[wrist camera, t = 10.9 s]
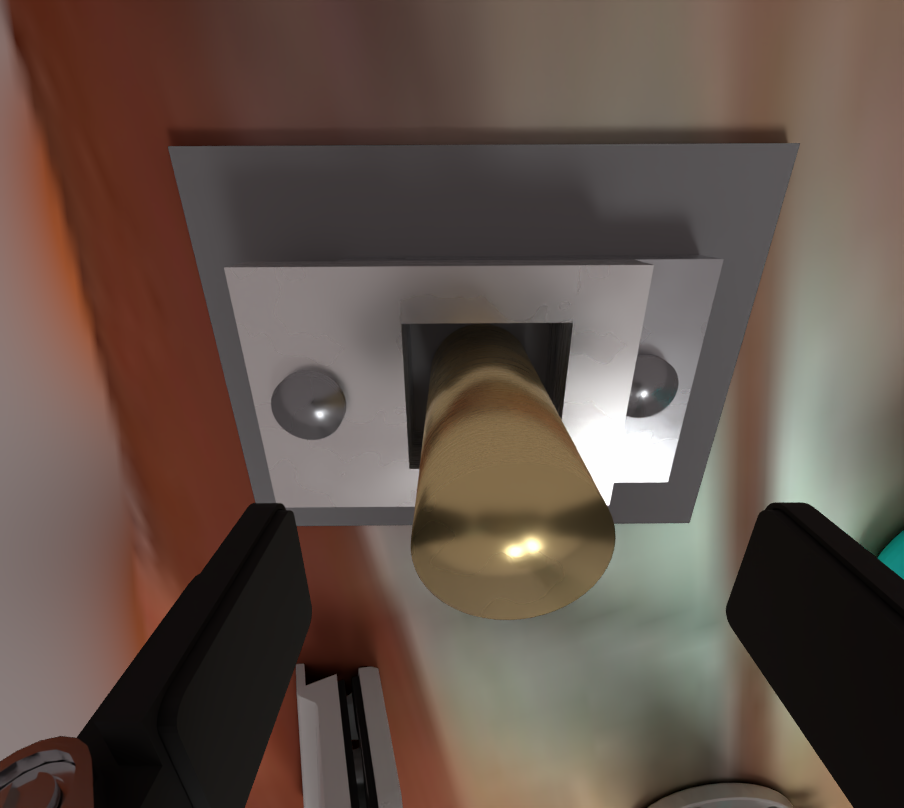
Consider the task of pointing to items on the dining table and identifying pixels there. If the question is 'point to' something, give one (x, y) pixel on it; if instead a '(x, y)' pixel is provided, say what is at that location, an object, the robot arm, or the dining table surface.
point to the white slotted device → (346, 743)
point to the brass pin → (502, 487)
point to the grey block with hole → (463, 301)
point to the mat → (490, 251)
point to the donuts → (894, 555)
